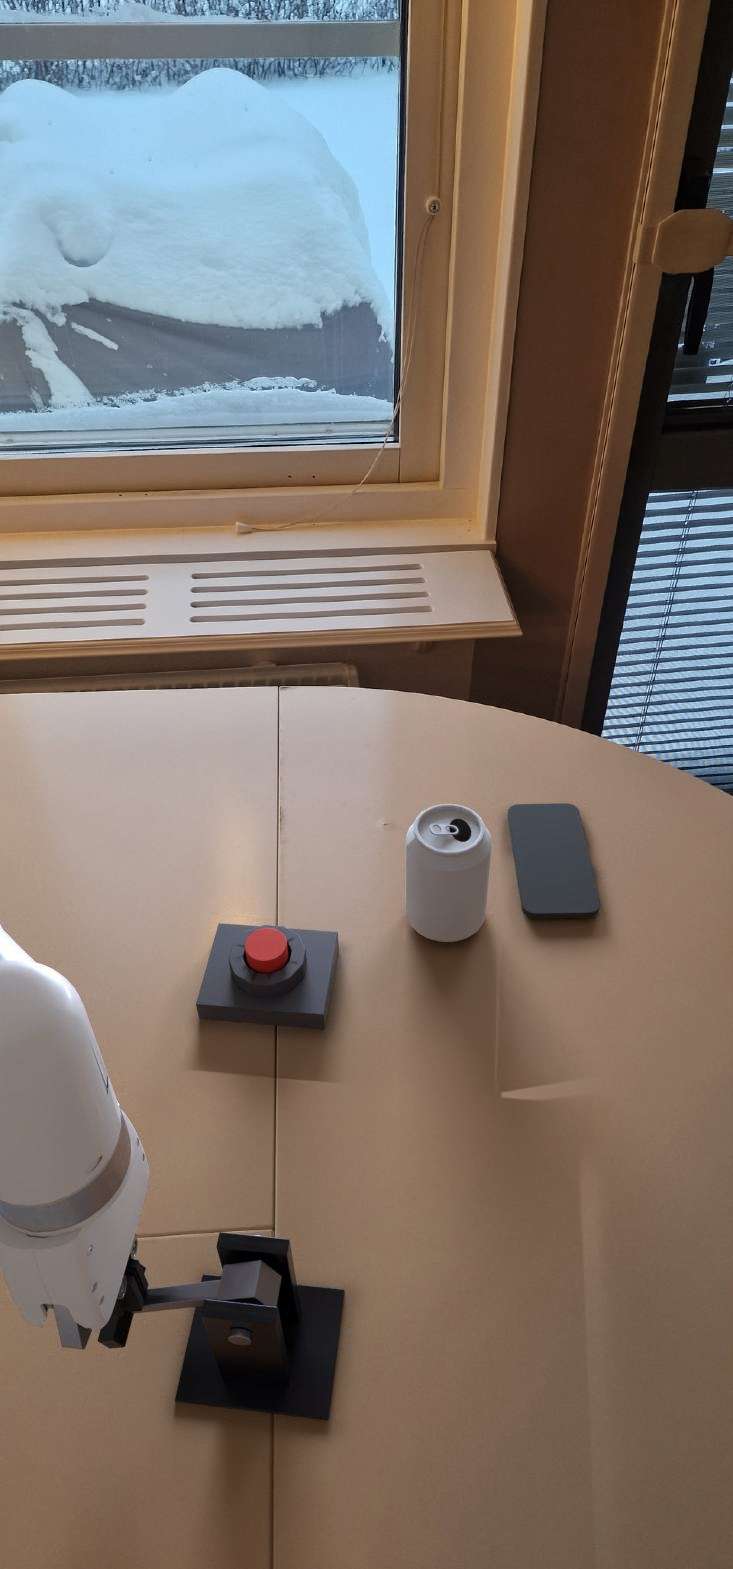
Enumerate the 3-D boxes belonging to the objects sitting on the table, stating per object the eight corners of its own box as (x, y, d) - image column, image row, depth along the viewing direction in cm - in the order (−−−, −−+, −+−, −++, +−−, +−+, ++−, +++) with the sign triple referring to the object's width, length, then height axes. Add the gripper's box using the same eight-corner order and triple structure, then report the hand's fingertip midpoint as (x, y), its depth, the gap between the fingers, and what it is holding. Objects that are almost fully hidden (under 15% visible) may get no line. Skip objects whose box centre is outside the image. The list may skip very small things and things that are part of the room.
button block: (199, 1019, 89) (192, 991, 87) (221, 938, 96) (216, 909, 93) (324, 1029, 88) (322, 1001, 86) (338, 946, 95) (337, 918, 92)
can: (494, 941, 95) (502, 851, 87) (414, 953, 94) (415, 863, 86) (474, 882, 100) (480, 791, 92) (398, 892, 100) (398, 802, 92)
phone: (578, 802, 107) (603, 912, 96) (577, 808, 108) (602, 918, 96) (506, 804, 107) (523, 914, 96) (505, 809, 108) (522, 920, 97)
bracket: (177, 1406, 67) (147, 1337, 59) (204, 1280, 73) (181, 1203, 65) (329, 1424, 66) (319, 1357, 58) (345, 1295, 72) (338, 1219, 64)
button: (243, 971, 89) (241, 959, 87) (251, 939, 91) (249, 926, 90) (284, 975, 88) (282, 962, 87) (291, 942, 91) (290, 929, 90)
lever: (114, 1352, 66) (91, 1337, 65) (136, 1272, 70) (114, 1257, 68) (271, 1338, 61) (249, 1322, 60) (285, 1253, 65) (265, 1236, 64)
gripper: (36, 1025, 60) (100, 1179, 72) (-75, 1293, 49) (23, 1420, 61) (162, 1036, 59) (205, 1189, 71) (79, 1310, 48) (147, 1436, 60)
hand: (121, 1296), depth 66 cm, fingers closed
